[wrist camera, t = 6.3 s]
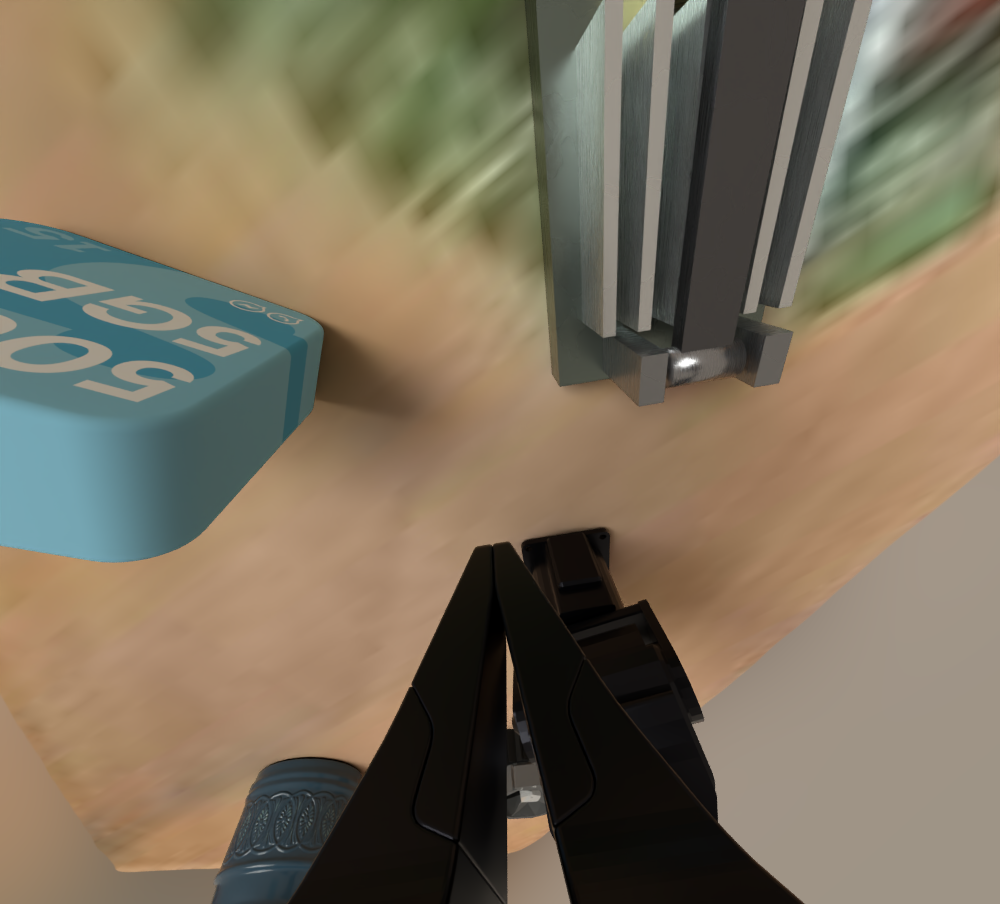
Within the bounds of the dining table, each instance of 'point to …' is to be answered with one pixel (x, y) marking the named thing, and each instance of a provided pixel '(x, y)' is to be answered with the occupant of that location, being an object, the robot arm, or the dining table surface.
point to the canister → (283, 829)
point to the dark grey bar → (729, 180)
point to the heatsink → (663, 177)
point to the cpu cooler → (522, 782)
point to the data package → (134, 396)
